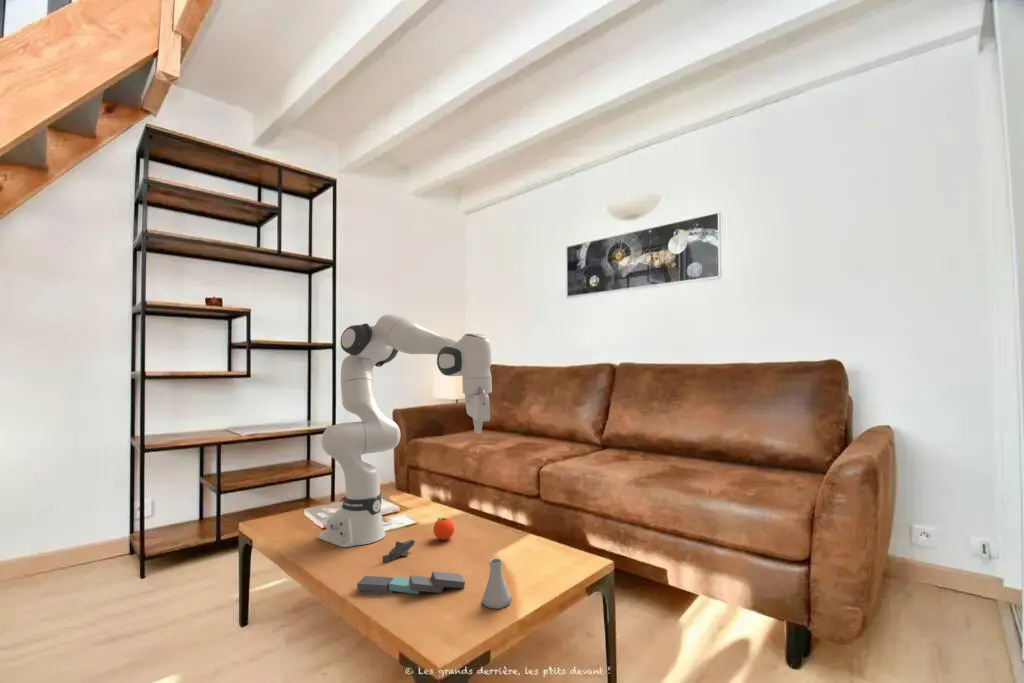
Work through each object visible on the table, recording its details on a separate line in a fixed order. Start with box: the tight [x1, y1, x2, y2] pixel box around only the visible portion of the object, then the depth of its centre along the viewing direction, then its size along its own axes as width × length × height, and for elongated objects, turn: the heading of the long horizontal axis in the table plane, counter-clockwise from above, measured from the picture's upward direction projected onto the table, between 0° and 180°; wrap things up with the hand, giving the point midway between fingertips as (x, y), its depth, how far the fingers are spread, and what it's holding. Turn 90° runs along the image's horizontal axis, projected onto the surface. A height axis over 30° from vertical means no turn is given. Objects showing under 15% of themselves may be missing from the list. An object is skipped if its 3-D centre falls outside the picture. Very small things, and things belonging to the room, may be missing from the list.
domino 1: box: [356, 575, 394, 592], centre depth 126 cm, size 2×4×8 cm
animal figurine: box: [382, 539, 416, 564], centre depth 147 cm, size 12×4×5 cm, turn 141°
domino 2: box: [361, 590, 395, 595], centre depth 126 cm, size 2×4×8 cm
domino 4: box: [408, 574, 444, 594], centre depth 124 cm, size 2×4×8 cm
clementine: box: [432, 516, 455, 541], centre depth 160 cm, size 8×7×7 cm
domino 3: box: [388, 575, 421, 595], centre depth 126 cm, size 2×4×8 cm
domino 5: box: [430, 571, 466, 589], centre depth 126 cm, size 2×4×8 cm
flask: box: [480, 557, 513, 609], centre depth 119 cm, size 7×7×10 cm
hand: (478, 433), depth 145 cm, fingers closed
